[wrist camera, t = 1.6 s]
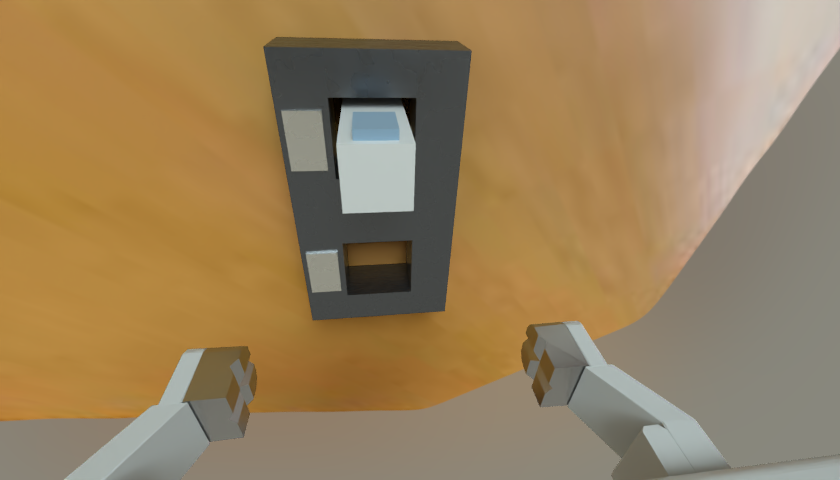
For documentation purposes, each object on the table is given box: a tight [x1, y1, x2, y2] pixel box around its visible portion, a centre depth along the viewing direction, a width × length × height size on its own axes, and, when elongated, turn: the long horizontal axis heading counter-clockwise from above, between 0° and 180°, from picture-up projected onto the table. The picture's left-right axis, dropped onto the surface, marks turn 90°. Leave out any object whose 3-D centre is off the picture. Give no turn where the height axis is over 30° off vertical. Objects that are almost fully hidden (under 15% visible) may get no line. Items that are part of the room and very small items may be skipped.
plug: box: [336, 98, 416, 214], centre depth 24 cm, size 4×5×10 cm
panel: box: [264, 37, 471, 320], centre depth 30 cm, size 12×22×4 cm, turn 178°
